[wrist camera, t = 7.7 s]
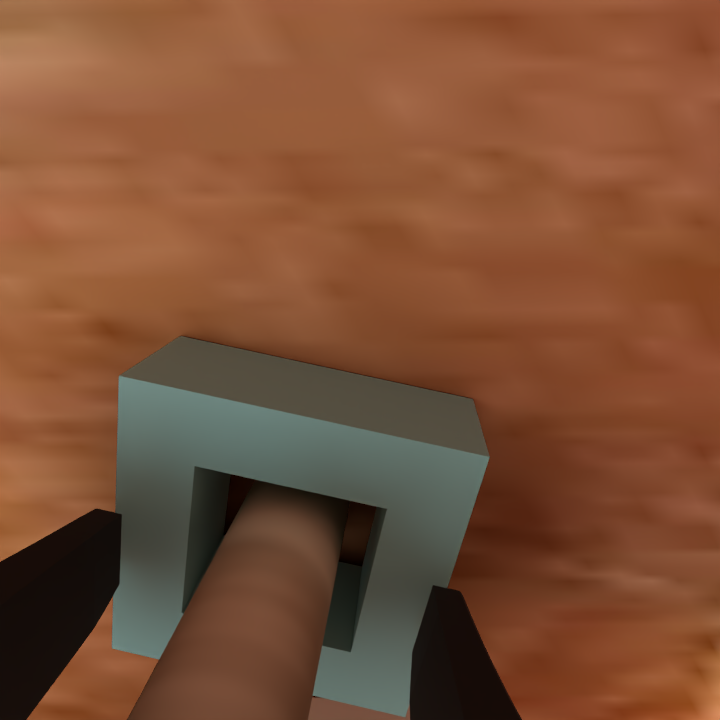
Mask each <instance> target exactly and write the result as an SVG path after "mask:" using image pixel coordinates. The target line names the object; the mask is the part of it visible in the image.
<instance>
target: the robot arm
mask: <svg viewBox="0 0 720 720" xmlns="http://www.w3.org/2000/svg"><path fill="white" fill-rule="evenodd" d="M121 527H122V514H118V513H114V512H110V511H105V510H101V509H94V510H93V511H91V512H89V513H87V514H85V515H83V516H81V517H80V518H78V519H76V520H74V521H73V522H71V523H69V524H67V525H66V526H64V527H62V528H60V529H59V530H57V531H55V532H53V533H52V534H50V535H48V536H46V537H44V538H43V539H41V540H39V541H37V542H36V543H34V544H32V545H30V546H28V547H26V548H25V549H23V550H21V551H19V552H17V553H16V554H14V555H12V556H10V557H8V558H6V559H5V560H3V561H1V562H0V720H26V719H27V718H28V717H29V715H30V714H31V713H32V711H33V710H34V709H35V707H36V706H37V705H38V703H39V702H40V701H41V699H42V698H43V696H44V695H45V694H46V692H47V691H48V690H49V688H50V687H51V686H52V684H53V683H54V682H55V680H56V679H57V678H58V676H59V675H60V674H61V672H62V671H63V670H64V668H65V667H66V666H67V664H68V663H69V662H70V660H71V659H72V658H73V656H74V655H75V653H76V652H77V651H78V649H79V648H80V647H81V645H82V644H83V643H84V641H85V640H86V638H87V637H88V636H89V634H90V633H91V632H92V630H93V629H94V627H95V626H96V624H97V622H98V621H99V619H100V617H101V616H102V614H103V612H104V611H105V609H106V607H107V605H108V604H109V602H110V600H111V598H112V597H113V595H114V593H115V591H116V590H117V588H118V586H119V584H120V559H121ZM409 704H410V720H522V719H521V717H520V715H519V714H518V712H517V710H516V708H515V706H514V704H513V702H512V700H511V699H510V697H509V695H508V693H507V691H506V689H505V687H504V685H503V683H502V681H501V679H500V677H499V675H498V673H497V671H496V669H495V667H494V665H493V663H492V661H491V659H490V657H489V654H488V652H487V650H486V648H485V646H484V644H483V641H482V639H481V637H480V635H479V633H478V630H477V628H476V626H475V623H474V621H473V619H472V616H471V614H470V612H469V609H468V607H467V604H466V602H465V600H464V597H463V595H462V594H461V592H460V591H457V590H453V589H448V588H444V587H439V586H435V585H433V586H432V590H431V593H430V596H429V599H428V602H427V606H426V609H425V612H424V615H423V618H422V622H421V625H420V628H419V631H418V635H417V638H416V641H415V644H414V647H413V651H412V663H411V680H410V700H409Z"/></svg>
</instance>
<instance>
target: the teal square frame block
mask: <svg viewBox="0 0 720 720" xmlns="http://www.w3.org/2000/svg"><path fill="white" fill-rule="evenodd" d="M489 458H490V456H489V453H488V449H487V446H486V443H485V439H484V436H483V432H482V429H481V425H480V422H479V418H478V415H477V411H476V408H475V404H474V401H473V399H470V398H465V397H461V396H456V395H452V394H447V393H442V392H438V391H433V390H428V389H424V388H419V387H415V386H410V385H405V384H401V383H396V382H391V381H387V380H382V379H378V378H373V377H368V376H364V375H359V374H354V373H350V372H345V371H341V370H336V369H331V368H327V367H322V366H317V365H313V364H308V363H304V362H299V361H294V360H290V359H285V358H280V357H276V356H271V355H267V354H262V353H257V352H253V351H248V350H243V349H239V348H234V347H230V346H225V345H220V344H216V343H211V342H206V341H202V340H197V339H193V338H188V337H183V336H180V337H178V338H177V339H175V340H173V341H172V342H170V343H169V344H167V345H166V346H164V347H163V348H161V349H160V350H158V351H156V352H155V353H153V354H152V355H150V356H149V357H147V358H146V359H144V360H143V361H141V362H139V363H138V364H136V365H135V366H133V367H132V368H130V369H129V370H127V371H126V372H124V373H122V374H121V375H119V394H118V432H117V471H116V509H115V513H118V514H122V527H121V559H120V584H119V586H118V588H117V590H116V591H115V593H114V595H113V624H112V648H113V649H117V650H121V651H125V652H130V653H134V654H138V655H142V656H147V657H151V658H155V659H160V657H161V655H162V653H163V652H164V650H165V648H166V646H167V644H168V642H169V640H170V638H171V637H172V635H173V633H174V631H175V629H176V627H177V625H178V623H179V621H180V620H181V618H182V616H183V614H184V612H185V610H186V608H187V606H188V605H189V603H190V601H191V599H192V597H193V595H194V593H195V591H196V590H197V588H198V586H199V584H200V582H201V580H202V578H203V576H204V575H205V573H206V571H207V569H208V567H209V565H210V563H211V561H212V560H213V558H214V556H215V554H216V552H217V550H218V548H219V546H220V545H221V543H222V541H223V539H224V537H225V535H224V527H225V518H226V510H227V501H228V493H229V485H230V476H231V474H233V475H237V476H242V477H246V478H251V479H255V480H260V481H264V482H268V483H273V484H277V485H282V486H286V487H291V488H295V489H300V490H304V491H309V492H313V493H318V494H322V495H327V496H331V497H336V498H340V499H344V500H349V501H353V502H358V503H362V504H367V505H371V506H376V511H375V515H374V520H373V524H372V528H371V532H370V536H369V540H368V544H367V548H366V552H365V556H364V561H363V565H362V567H361V566H357V565H352V564H348V563H343V562H338V567H337V572H336V577H335V582H334V587H333V592H332V598H331V603H330V608H329V613H328V618H327V623H326V629H325V634H324V639H323V644H322V649H321V654H320V659H319V665H318V670H317V675H316V680H315V685H314V690H313V696H317V697H321V698H325V699H329V700H334V701H338V702H342V703H346V704H351V705H355V706H359V707H363V708H368V709H372V710H376V711H380V712H385V713H389V714H393V715H397V716H402V717H406V713H407V710H408V707H409V700H410V680H411V663H412V651H413V647H414V644H415V641H416V638H417V635H418V631H419V628H420V625H421V622H422V618H423V615H424V612H425V609H426V606H427V602H428V599H429V596H430V593H431V590H432V586H433V585H435V586H439V587H444V588H447V587H448V584H449V581H450V578H451V575H452V572H453V569H454V566H455V562H456V559H457V556H458V553H459V550H460V547H461V544H462V541H463V538H464V535H465V532H466V529H467V525H468V522H469V519H470V516H471V513H472V510H473V507H474V504H475V501H476V498H477V495H478V492H479V488H480V485H481V482H482V479H483V476H484V473H485V470H486V467H487V464H488V461H489Z"/></svg>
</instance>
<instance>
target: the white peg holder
mask: <svg viewBox="0 0 720 720" xmlns="http://www.w3.org/2000/svg"><path fill="white" fill-rule="evenodd" d="M308 720H410V704H409V707H408V710H407V713H406V717H402V716H397V715H393V714H389V713H385V712H380V711H376V710H372V709H368V708H363V707H359V706H355V705H351V704H346V703H342V702H338V701H334V700H329V699H325V698H313V697H312V701H311V706H310V711H309V716H308Z"/></svg>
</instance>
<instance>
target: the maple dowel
mask: <svg viewBox="0 0 720 720" xmlns="http://www.w3.org/2000/svg"><path fill="white" fill-rule="evenodd" d="M349 505H350V501H349V500H344V499H340V498H336V497H331V496H327V495H322V494H318V493H313V492H309V491H304V490H300V489H295V488H291V487H286V486H282V485H277V484H273V483H268V482H264V481H260V480H255V481H254V483H253V484H252V486H251V488H250V490H249V492H248V494H247V496H246V498H245V499H244V501H243V503H242V505H241V507H240V509H239V511H238V513H237V515H236V516H235V518H234V520H233V522H232V524H231V526H230V528H229V530H228V531H227V533H226V535H225V537H224V539H223V541H222V543H221V545H220V546H219V548H218V550H217V552H216V554H215V556H214V558H213V560H212V561H211V563H210V565H209V567H208V569H207V571H206V573H205V575H204V576H203V578H202V580H201V582H200V584H199V586H198V588H197V590H196V591H195V593H194V595H193V597H192V599H191V601H190V603H189V605H188V606H187V608H186V610H185V612H184V614H183V616H182V618H181V620H180V621H179V623H178V625H177V627H176V629H175V631H174V633H173V635H172V637H171V638H170V640H169V642H168V644H167V646H166V648H165V650H164V652H163V653H162V655H161V657H160V659H159V661H158V663H157V665H156V667H155V668H154V670H153V672H152V674H151V676H150V678H149V680H148V682H147V683H146V685H145V687H144V689H143V691H142V693H141V695H140V697H139V698H138V700H137V702H136V704H135V706H134V708H133V710H132V712H131V713H130V715H129V717H128V719H127V720H308V716H309V711H310V706H311V701H312V696H313V690H314V685H315V680H316V675H317V670H318V665H319V659H320V654H321V649H322V644H323V639H324V634H325V629H326V623H327V618H328V613H329V608H330V603H331V598H332V592H333V587H334V582H335V577H336V572H337V567H338V562H339V556H340V551H341V546H342V541H343V536H344V531H345V525H346V520H347V515H348V510H349Z"/></svg>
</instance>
